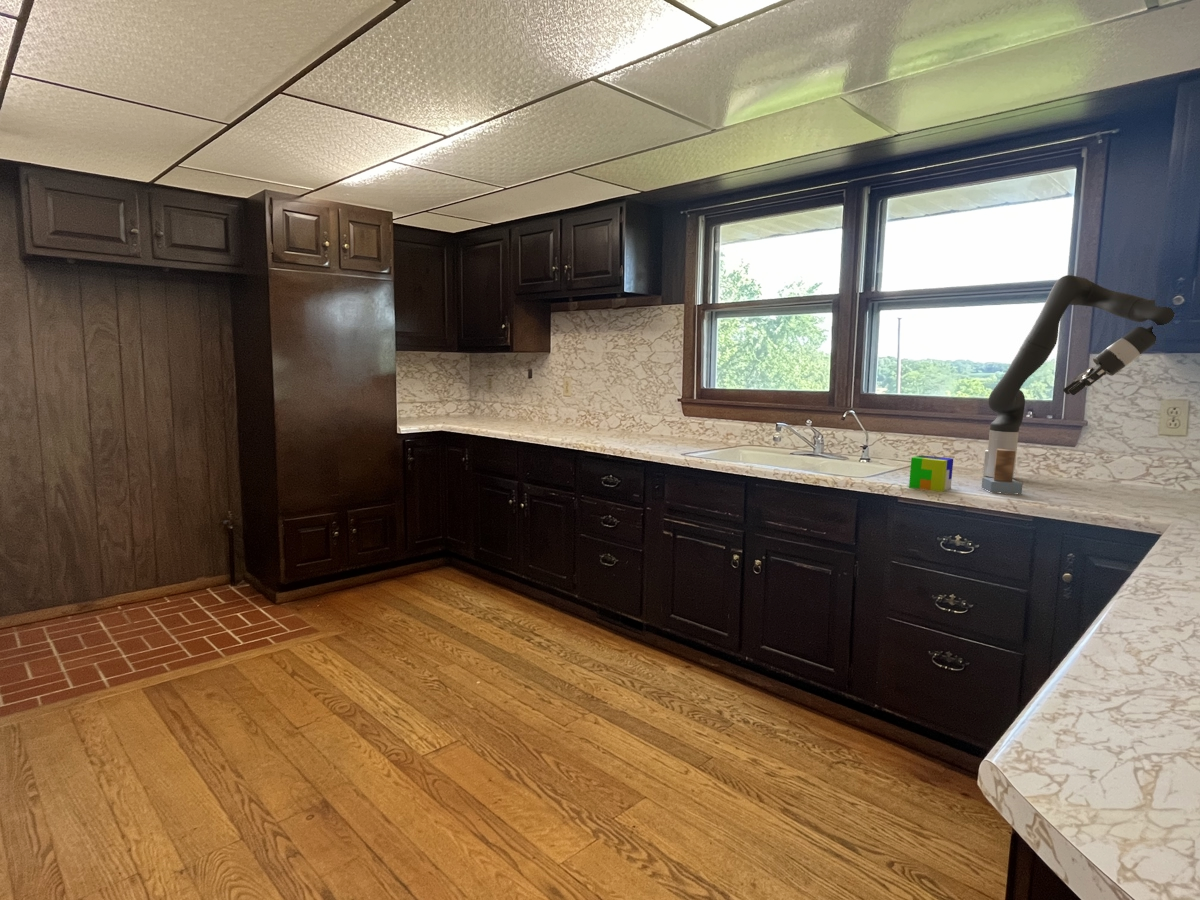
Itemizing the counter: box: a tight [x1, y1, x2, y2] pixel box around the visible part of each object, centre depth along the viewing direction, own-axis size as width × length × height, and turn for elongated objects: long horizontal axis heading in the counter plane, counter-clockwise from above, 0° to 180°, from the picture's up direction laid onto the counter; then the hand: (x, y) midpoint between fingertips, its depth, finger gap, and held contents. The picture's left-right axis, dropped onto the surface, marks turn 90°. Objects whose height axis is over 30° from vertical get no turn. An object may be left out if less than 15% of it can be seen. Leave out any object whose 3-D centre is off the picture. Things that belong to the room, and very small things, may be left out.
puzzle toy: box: [908, 455, 954, 493], centre depth 223 cm, size 10×10×10 cm
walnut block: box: [992, 449, 1016, 482], centre depth 219 cm, size 5×5×10 cm
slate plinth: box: [981, 477, 1024, 495], centre depth 220 cm, size 9×9×4 cm
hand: (1067, 392), depth 213 cm, fingers open, 8 cm apart
